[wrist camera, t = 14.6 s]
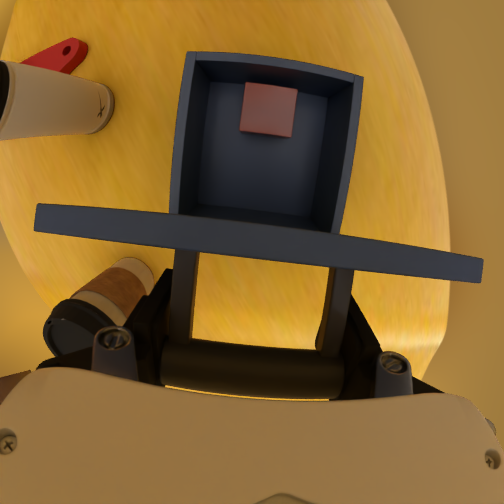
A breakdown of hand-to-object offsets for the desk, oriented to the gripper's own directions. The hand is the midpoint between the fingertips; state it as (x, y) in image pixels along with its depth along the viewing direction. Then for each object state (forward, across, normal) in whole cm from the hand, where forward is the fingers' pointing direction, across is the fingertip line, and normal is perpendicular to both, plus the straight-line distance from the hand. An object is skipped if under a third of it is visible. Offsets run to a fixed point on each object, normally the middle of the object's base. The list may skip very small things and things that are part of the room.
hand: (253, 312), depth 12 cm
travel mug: (+20, +20, -10) cm, 30 cm away
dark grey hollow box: (+20, 0, -6) cm, 21 cm away
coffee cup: (+20, +14, +10) cm, 27 cm away
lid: (+3, 0, -2) cm, 4 cm away
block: (+19, 0, -10) cm, 21 cm away
